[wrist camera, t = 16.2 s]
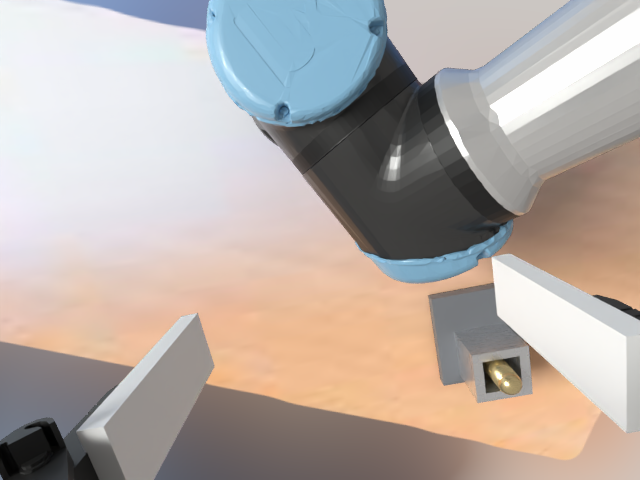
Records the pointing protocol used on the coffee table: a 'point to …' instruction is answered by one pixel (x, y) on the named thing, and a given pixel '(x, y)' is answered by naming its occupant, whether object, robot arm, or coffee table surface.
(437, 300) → the keeper plate
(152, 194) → the coffee table surface
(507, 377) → the pin
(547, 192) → the coffee table surface
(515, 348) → the steel collar
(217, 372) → the coffee table surface
